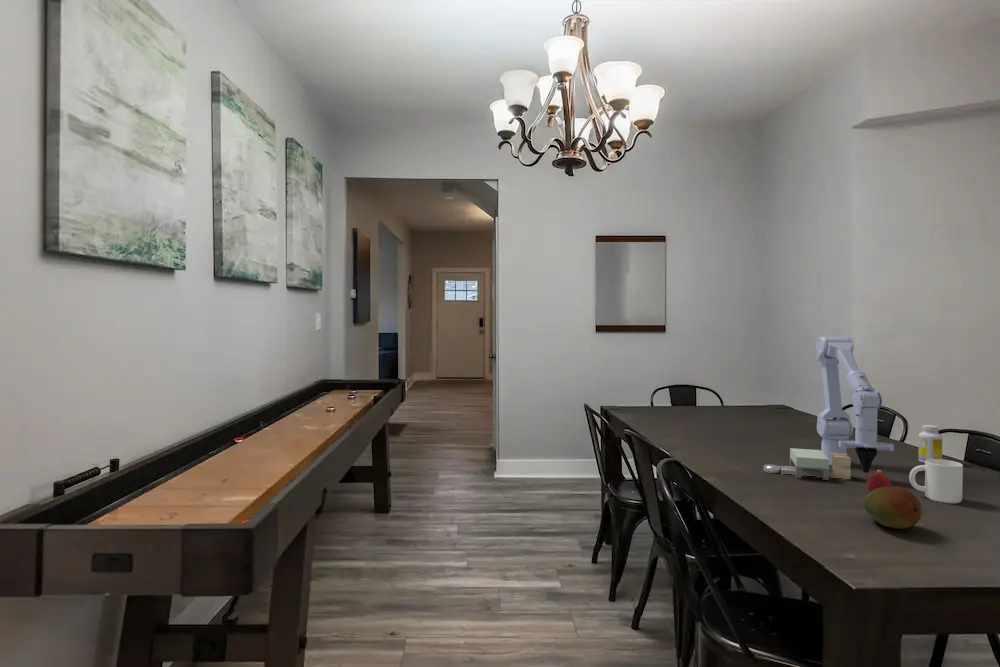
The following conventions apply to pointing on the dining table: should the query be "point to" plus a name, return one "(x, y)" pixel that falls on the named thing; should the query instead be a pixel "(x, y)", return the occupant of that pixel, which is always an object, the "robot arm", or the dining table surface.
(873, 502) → the fruit
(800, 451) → the green top stand
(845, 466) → the beige piece
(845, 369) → the robot arm
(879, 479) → the pomegranate
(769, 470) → the token
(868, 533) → the dining table surface
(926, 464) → the mug
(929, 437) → the supplement bottle
